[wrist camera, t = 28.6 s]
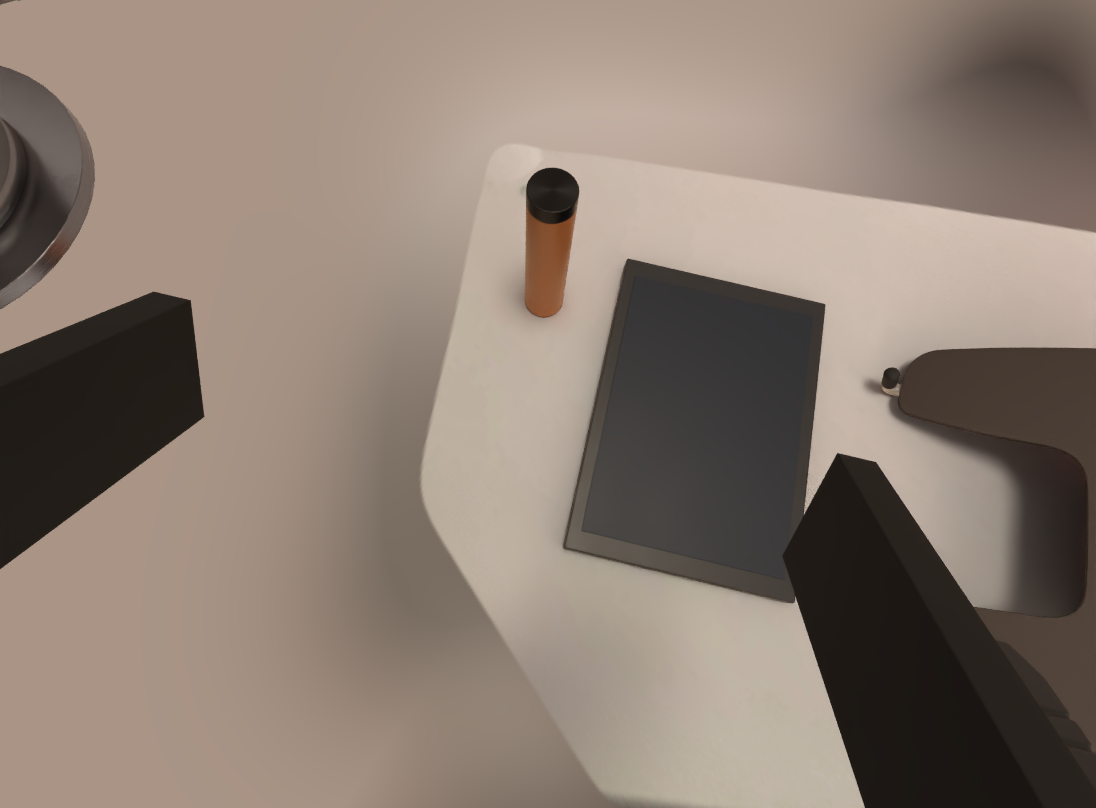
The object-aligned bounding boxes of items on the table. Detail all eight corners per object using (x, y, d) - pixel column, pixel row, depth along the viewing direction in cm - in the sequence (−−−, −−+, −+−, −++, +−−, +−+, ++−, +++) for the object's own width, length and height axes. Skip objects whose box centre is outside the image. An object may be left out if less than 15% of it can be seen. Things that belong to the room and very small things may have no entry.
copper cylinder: (521, 312, 39) (520, 205, 28) (529, 279, 40) (533, 162, 28) (557, 321, 39) (573, 217, 28) (566, 287, 40) (584, 173, 28)
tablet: (562, 548, 35) (564, 547, 34) (624, 265, 41) (627, 257, 40) (787, 602, 35) (795, 603, 34) (818, 310, 40) (826, 303, 39)
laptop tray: (877, 377, 45) (889, 320, 38) (1310, 414, 35) (1453, 345, 27) (839, 684, 39) (846, 692, 31) (1356, 844, 28) (1561, 916, 21)
